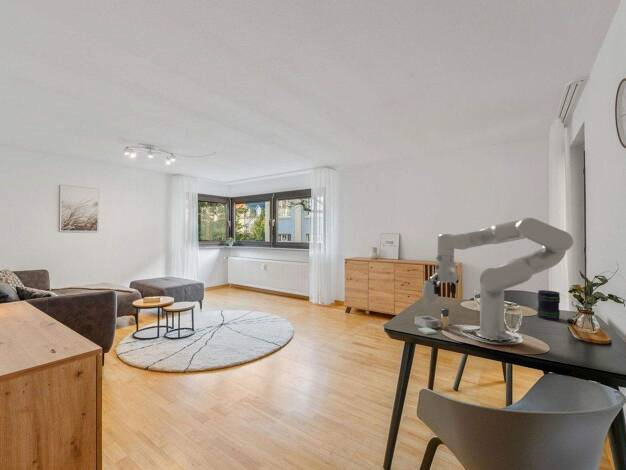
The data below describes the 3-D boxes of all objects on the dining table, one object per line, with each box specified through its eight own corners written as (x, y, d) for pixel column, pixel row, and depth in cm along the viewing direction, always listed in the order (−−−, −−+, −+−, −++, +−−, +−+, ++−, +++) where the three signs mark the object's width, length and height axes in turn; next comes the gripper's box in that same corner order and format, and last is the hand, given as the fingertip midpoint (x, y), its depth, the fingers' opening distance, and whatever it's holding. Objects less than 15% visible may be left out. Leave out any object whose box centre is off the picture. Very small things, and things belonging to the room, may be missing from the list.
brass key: (450, 330, 148) (450, 309, 148) (444, 330, 147) (444, 310, 147) (445, 328, 152) (445, 308, 152) (439, 328, 151) (439, 308, 150)
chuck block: (440, 327, 153) (440, 320, 153) (425, 328, 150) (425, 321, 150) (424, 320, 164) (424, 314, 164) (410, 321, 161) (410, 315, 161)
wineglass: (439, 321, 163) (439, 282, 163) (425, 320, 163) (425, 282, 163) (434, 317, 171) (434, 280, 171) (420, 317, 171) (421, 280, 171)
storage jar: (541, 319, 167) (542, 293, 167) (534, 315, 177) (534, 289, 177) (563, 321, 165) (563, 294, 164) (554, 316, 174) (555, 290, 174)
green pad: (436, 333, 144) (436, 331, 144) (426, 334, 142) (426, 332, 142) (428, 329, 149) (428, 327, 149) (417, 330, 147) (417, 328, 147)
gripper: (436, 260, 143) (435, 296, 143) (465, 259, 148) (464, 294, 148) (425, 258, 150) (425, 293, 150) (453, 258, 155) (453, 291, 156)
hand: (444, 293), depth 149 cm, fingers open, 9 cm apart
